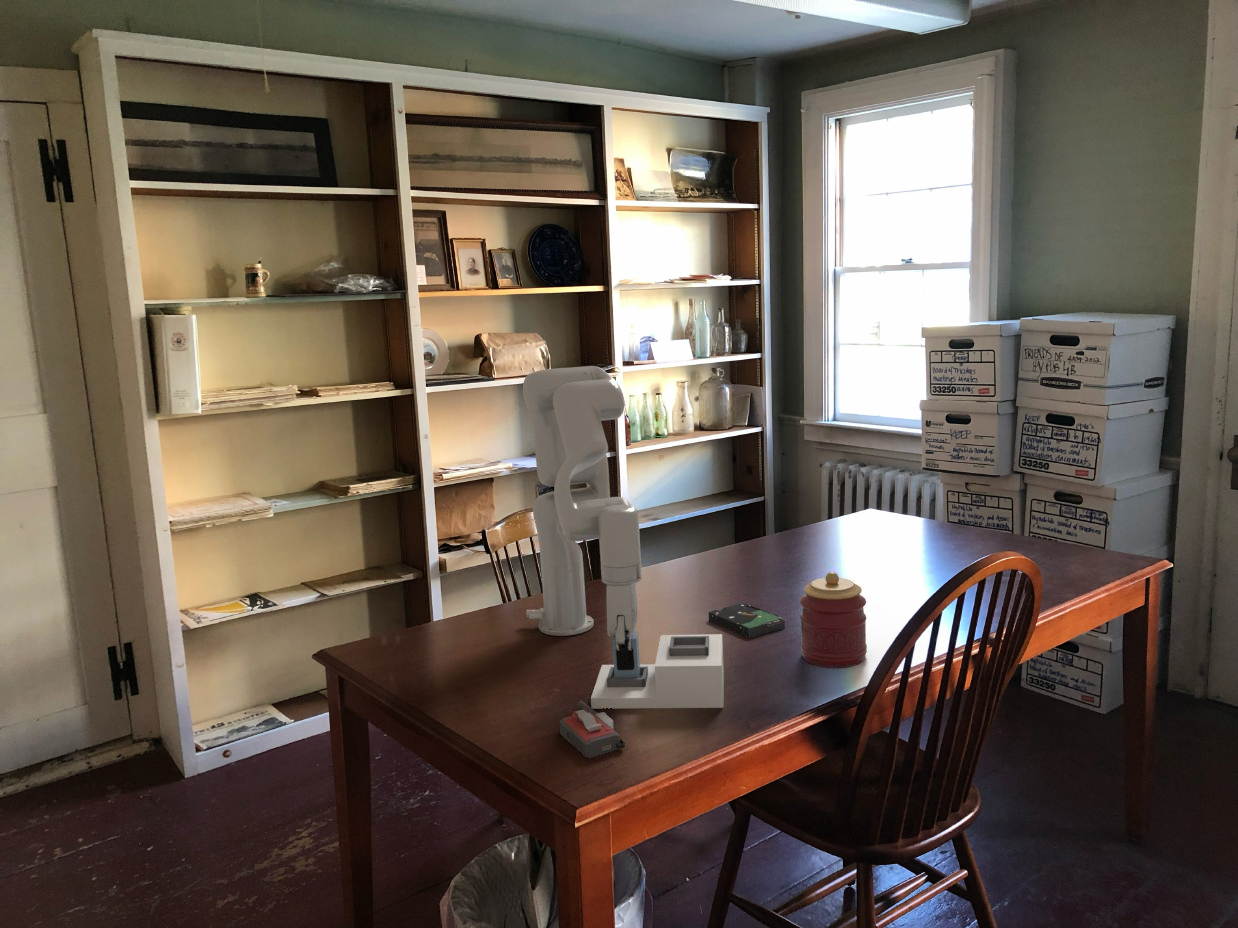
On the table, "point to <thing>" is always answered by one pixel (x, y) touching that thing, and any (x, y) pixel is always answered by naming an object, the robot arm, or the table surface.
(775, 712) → the table surface
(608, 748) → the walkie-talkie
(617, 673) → the plug
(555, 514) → the robot arm
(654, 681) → the dock
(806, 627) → the canister
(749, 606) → the disk drive
